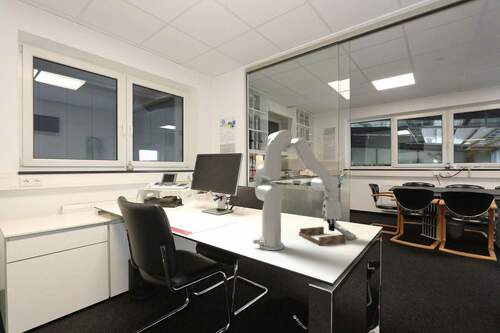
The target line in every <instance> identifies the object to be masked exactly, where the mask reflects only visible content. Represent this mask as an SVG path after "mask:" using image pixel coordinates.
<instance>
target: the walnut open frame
mask: <svg viewBox="0 0 500 333" xmlns="http://www.w3.org/2000/svg"><path fill="white" fill-rule="evenodd" d="M324 233H325V227H324V226H316V227H315V226H313V227H303V228H302V227H301V228H299V232H298V236H299V237H301V238H303V239H304V240H307V241H308V242H311V243H313V244H315V245H317V246H327V245H335V244H343V243H344V244H345V243H346V236H345V235H344V234H342V233H341V234H334V235H325V236H319V237H318V239H317V238H314V237H313V235H314V236H315V235H323V234H324Z"/></svg>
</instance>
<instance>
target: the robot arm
mask: <svg viewBox="0 0 500 333" xmlns="http://www.w3.org/2000/svg"><path fill="white" fill-rule="evenodd" d="M293 137H294V136H293V133H292V131H291V130H289V129H281V130H279V131H276V132H272V133H270V134H269V136H268V137H267V145H266V146H265V150H264V160H263V161H264V162H263V163H260V164H259V165H258V166H257V168H256V171H255V179H254V180H255V181H254V192H255V196H256V198H257V199H258V200H260V201H262V202H263V206H262V210H261V211H262V212H261V221H262V222H261V230H262V231H261V236H260V238H258V239H253V240H252V244H254V245H258V247H259V248H260V249H262V250H265V251H279V250H282V249H284V248H285V243H284V242H282V203H283V202H282V201H283V196H284V195H283V194H284V193H283V190H282V188H281V187H280V185H278V184H275V183H272V182H277V181H278V180H279V179H281V178H280V177H281V173H282V170H281V168H282V154H283V153H286V154H295V156H296V157H297V159H298V160H299V162H300V164H301V166H302V167H303V168H304V169H306V170H307V171H309V172H312V173H313V174H315V176H316V177H313V178H312V179H311V181H310V187H311V188H312V189H313V190H315V191H321V192H322V191H323V192H324V196H323V198H322V199H323V200H324V201H323V204H322V213H321V214H322V220H323V221H324V222H326V223H327V225H328V231H331V232H335V231H336V229H335V224H336V223H337V221H339V220H340V219H341V218H342V207H341V202H340V200H339V179H338V178H337V177H333V175H332V173H331V171H330V169H328V168H327V167H326V166H325V164H323V163H322V162H321V161H319V160H318V159H317V157H316V156H315V154H314V152H313V150H312V148H311V146H310V144H309V143H308V140H307V139H306V138H305V137H302V136H298V137H294V138H293Z"/></svg>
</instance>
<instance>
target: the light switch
mask: <svg viewBox="0 0 500 333" xmlns="http://www.w3.org/2000/svg"><path fill="white" fill-rule="evenodd" d="M335 231H337V232H339V234H341V235H342V234H344V235H345V238H347V239H349V240H351V241H352V240H354V239H355V238H357V235H355V233H353V232H351V231H350V230H349V229H347V228H345V227H344V226H342V225H341V224H339V223H338V222H336V224H335Z"/></svg>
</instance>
